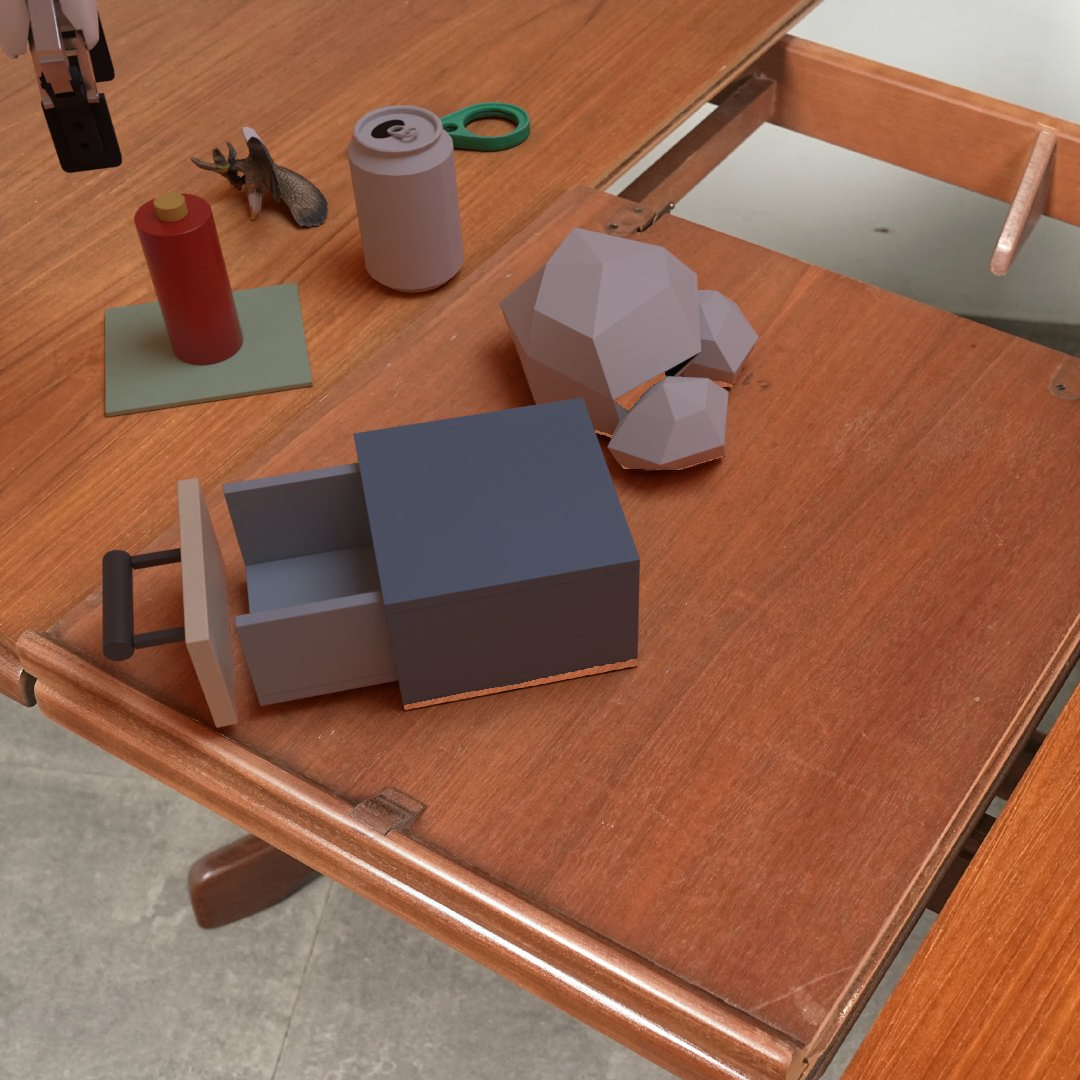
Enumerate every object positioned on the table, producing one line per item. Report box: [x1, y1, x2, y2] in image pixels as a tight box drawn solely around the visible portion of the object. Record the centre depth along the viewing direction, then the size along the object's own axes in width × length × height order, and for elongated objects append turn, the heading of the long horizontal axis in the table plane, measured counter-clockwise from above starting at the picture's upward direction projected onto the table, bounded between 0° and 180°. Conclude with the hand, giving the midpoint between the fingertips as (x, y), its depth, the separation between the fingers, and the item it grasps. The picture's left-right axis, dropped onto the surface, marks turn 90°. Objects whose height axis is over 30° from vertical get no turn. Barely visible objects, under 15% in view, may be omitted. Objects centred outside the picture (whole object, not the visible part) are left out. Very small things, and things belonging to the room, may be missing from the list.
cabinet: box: [352, 398, 641, 706], centre depth 79 cm, size 14×14×9 cm
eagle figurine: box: [190, 126, 329, 228], centre depth 108 cm, size 8×7×9 cm
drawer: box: [101, 462, 399, 728], centre depth 77 cm, size 17×12×7 cm
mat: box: [104, 282, 314, 418], centre depth 99 cm, size 14×12×1 cm
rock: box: [498, 226, 760, 471], centre depth 92 cm, size 18×20×10 cm
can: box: [346, 104, 465, 294], centre depth 101 cm, size 8×8×12 cm
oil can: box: [133, 191, 243, 365], centre depth 94 cm, size 5×5×12 cm
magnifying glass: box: [350, 101, 531, 152], centre depth 117 cm, size 15×6×2 cm, turn 108°
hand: (90, 122), depth 78 cm, fingers open, 9 cm apart
